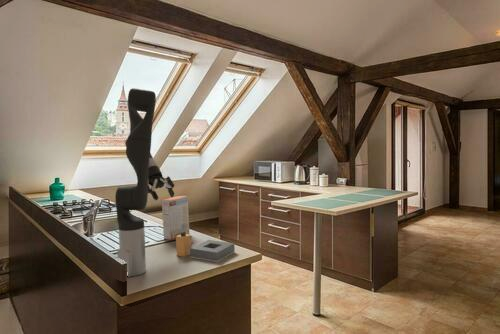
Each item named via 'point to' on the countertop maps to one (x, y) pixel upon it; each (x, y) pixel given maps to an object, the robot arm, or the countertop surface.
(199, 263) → the countertop surface
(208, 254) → the socket block
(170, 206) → the cracker box
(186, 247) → the plug
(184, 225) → the flask
